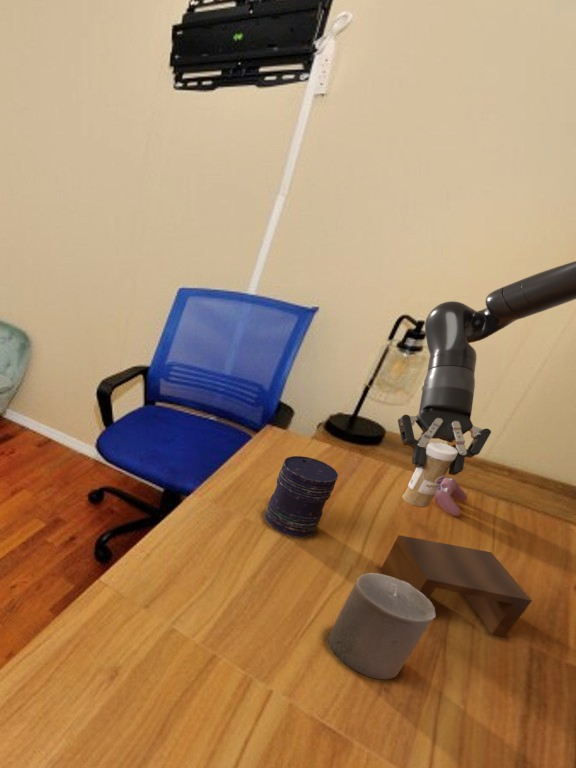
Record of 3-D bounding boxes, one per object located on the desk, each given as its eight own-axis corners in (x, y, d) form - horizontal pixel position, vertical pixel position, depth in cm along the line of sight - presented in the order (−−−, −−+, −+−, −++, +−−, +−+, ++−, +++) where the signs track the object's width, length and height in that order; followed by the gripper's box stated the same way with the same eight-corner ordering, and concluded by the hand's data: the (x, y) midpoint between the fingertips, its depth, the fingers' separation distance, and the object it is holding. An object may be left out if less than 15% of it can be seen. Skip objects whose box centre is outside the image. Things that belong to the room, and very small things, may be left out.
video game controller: (442, 499, 124) (436, 472, 123) (468, 500, 120) (463, 472, 119) (433, 516, 118) (427, 488, 117) (461, 517, 114) (455, 489, 114)
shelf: (468, 587, 97) (491, 552, 93) (504, 637, 87) (532, 600, 83) (380, 569, 102) (398, 534, 98) (405, 615, 92) (426, 579, 88)
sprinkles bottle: (424, 511, 103) (453, 455, 97) (397, 499, 107) (423, 445, 101) (433, 503, 105) (462, 448, 99) (406, 492, 109) (433, 439, 103)
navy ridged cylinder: (323, 539, 109) (349, 483, 102) (274, 535, 111) (296, 480, 104) (302, 510, 118) (323, 457, 111) (256, 507, 120) (275, 454, 113)
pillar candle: (319, 650, 86) (351, 587, 79) (337, 619, 91) (368, 557, 84) (391, 692, 79) (433, 626, 72) (406, 656, 84) (446, 591, 78)
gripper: (410, 379, 104) (398, 456, 100) (506, 393, 97) (496, 476, 94) (395, 392, 111) (383, 465, 107) (484, 406, 104) (474, 484, 100)
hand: (436, 470), depth 100 cm, fingers closed on sprinkles bottle, 4 cm apart
